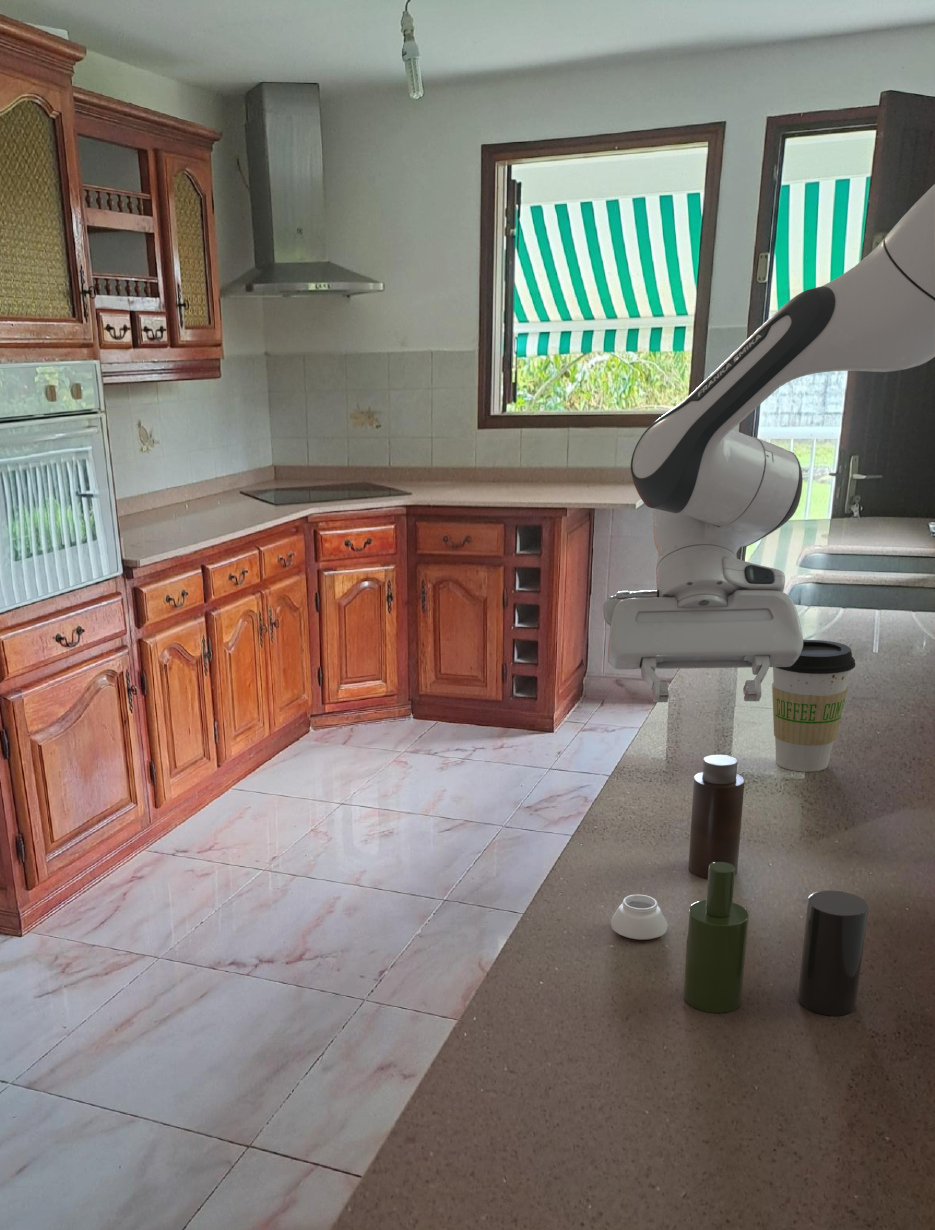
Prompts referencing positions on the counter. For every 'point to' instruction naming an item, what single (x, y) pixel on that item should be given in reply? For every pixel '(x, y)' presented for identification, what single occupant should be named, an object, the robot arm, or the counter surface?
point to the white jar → (639, 918)
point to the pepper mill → (716, 815)
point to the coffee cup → (810, 704)
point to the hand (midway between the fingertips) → (706, 699)
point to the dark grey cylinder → (832, 952)
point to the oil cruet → (716, 945)
